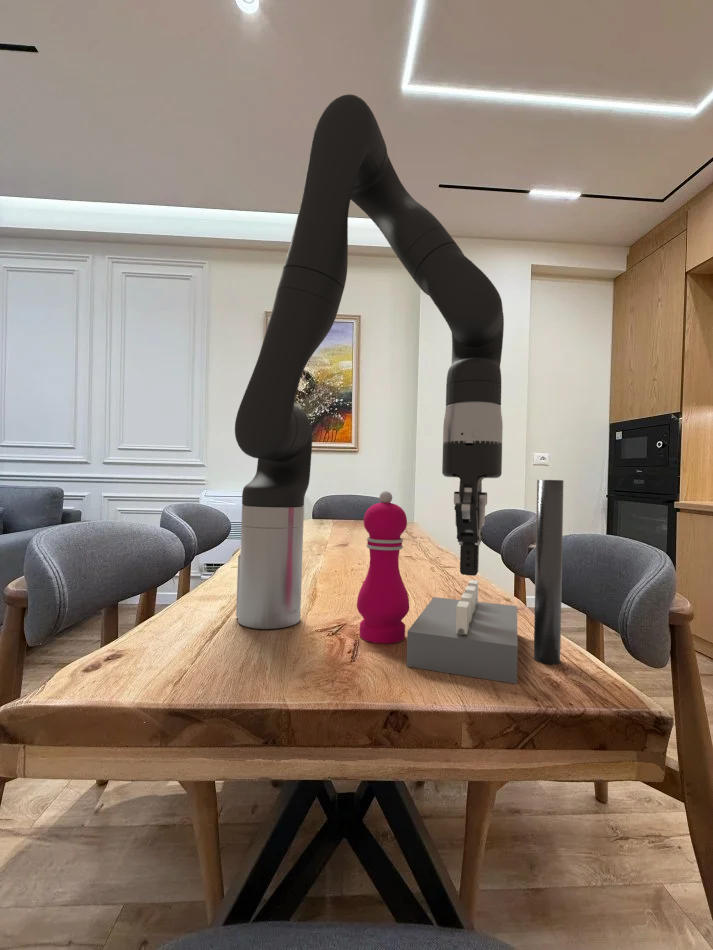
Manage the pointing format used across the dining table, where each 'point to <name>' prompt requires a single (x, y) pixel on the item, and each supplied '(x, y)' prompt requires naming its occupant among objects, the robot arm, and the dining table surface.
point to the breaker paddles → (466, 607)
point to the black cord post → (548, 571)
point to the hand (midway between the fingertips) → (469, 574)
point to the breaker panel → (465, 641)
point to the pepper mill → (383, 575)
